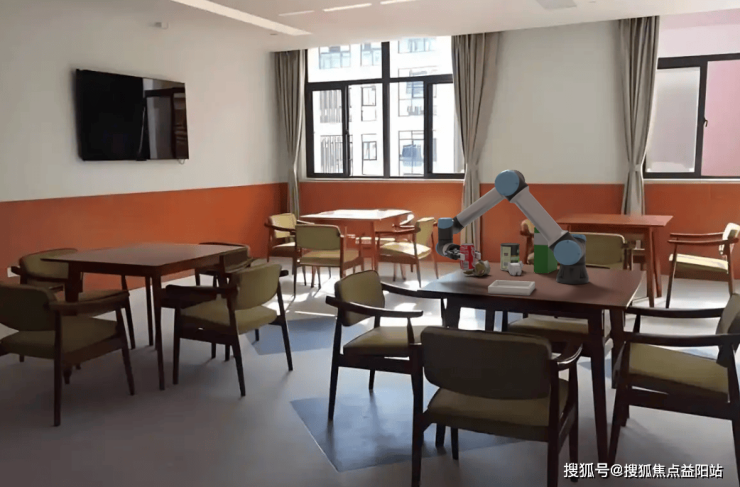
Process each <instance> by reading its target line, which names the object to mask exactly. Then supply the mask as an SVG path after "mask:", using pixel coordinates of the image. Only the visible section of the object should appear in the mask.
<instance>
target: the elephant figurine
mask: <svg viewBox="0 0 740 487" xmlns="http://www.w3.org/2000/svg"><path fill="white" fill-rule="evenodd" d="M523 267H524V263H523V261H522V260H519V262H518V263H510V262H508V268H507V269H508V270H509V271H508V272H509V275H511V276H516V275H517V276H520V275H522V270H523Z"/></svg>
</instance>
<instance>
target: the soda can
mask: <svg viewBox="0 0 740 487" xmlns="http://www.w3.org/2000/svg"><path fill="white" fill-rule="evenodd" d="M460 246H461V247H460V253H461V254H465V260H464V261H463V260H460V259H459V265H460V267H459V268H460V270H462V271H464V272H466V271H470V270H473V269H475V262H476V258H475V250H476V247H475V245H474V243H471V242H470V243H469V242H465V243H461V244H460Z"/></svg>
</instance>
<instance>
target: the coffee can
mask: <svg viewBox="0 0 740 487" xmlns="http://www.w3.org/2000/svg"><path fill="white" fill-rule="evenodd" d="M499 245H500V270H501V271H505V272H507V271H508V272H509V270H508V269H507V268H508V262H510V263H518V262H519V261H520V246H521V245H520V243H519V242H518V243H517V242H502V243H500V244H499Z"/></svg>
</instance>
